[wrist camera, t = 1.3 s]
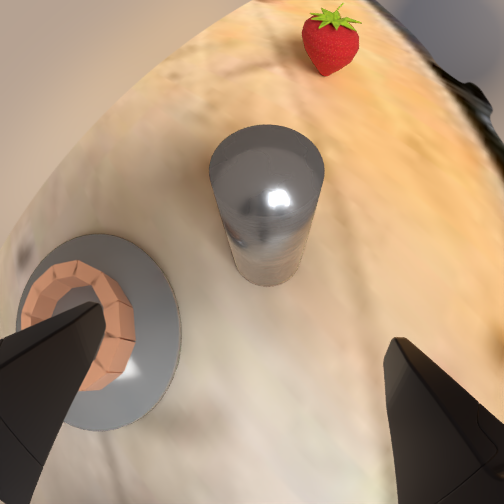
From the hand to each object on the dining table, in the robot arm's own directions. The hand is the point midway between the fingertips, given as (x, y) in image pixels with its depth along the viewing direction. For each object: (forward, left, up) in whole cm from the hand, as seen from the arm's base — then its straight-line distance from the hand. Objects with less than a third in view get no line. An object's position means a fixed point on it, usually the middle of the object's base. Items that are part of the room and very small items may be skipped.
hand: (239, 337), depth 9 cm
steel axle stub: (+7, +2, -13) cm, 15 cm away
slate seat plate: (-4, +13, -13) cm, 19 cm away
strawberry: (+30, +3, -13) cm, 33 cm away
